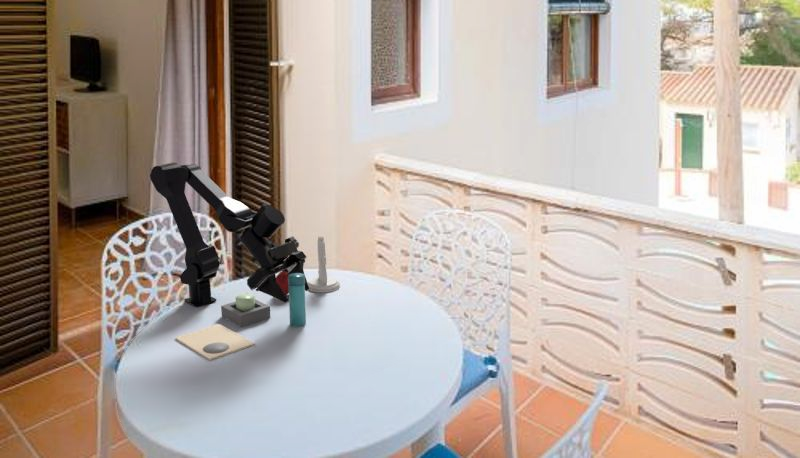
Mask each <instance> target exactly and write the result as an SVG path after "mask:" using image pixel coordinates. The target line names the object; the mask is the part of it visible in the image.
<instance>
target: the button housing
mask: <svg viewBox="0 0 800 458" xmlns="http://www.w3.org/2000/svg"><path fill="white" fill-rule="evenodd" d="M220 308H221V310H220V311H221V317H222V318H223V319H226V320H227V321H230V322H231V323H233V324H235V325H236V326H239V327H243V326H248V325H250V324H253V323H256V322H260V321H263V320H265V319H269V318H271V306H270V305H268V304H267V303H264V302H261V301H259V300H257V299H255V309H251V310H248V311H245V312H240V311H238V310H236V301H233V302H229V303H226V304H222V305H221V307H220Z"/></svg>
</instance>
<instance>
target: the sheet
mask: <svg viewBox="0 0 800 458" xmlns="http://www.w3.org/2000/svg"><path fill="white" fill-rule="evenodd" d="M174 338H175V339H174V340H176V341H178V342H179V343H181V344H183V345H184V346H186V347H187V348H189V349H191V350H192V351H194V352H196V353H197V354H199V355H200V356H202V357H204V358H205V359H207V360H208V361H213V360H215V359H218V358H220V357H224V356H226V355H230V354H232V353H236V352H238V351H241V350H243V349H247V348H249V347H252V346H255V345H256V343H255V342H253V341H252V340H250V339H248V338H246V337H244V336H242V335H240V334H239V333H237V332H235V331H234V330H232V329H229V328H228V327H226V326H224V325H222V324H221V323H217V324H214V325H211V326H207V327H205V328H202V329H198V330H195V331H191V332H189V333H185V334H182V335H179V336H175V337H174Z"/></svg>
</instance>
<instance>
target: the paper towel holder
mask: <svg viewBox="0 0 800 458" xmlns="http://www.w3.org/2000/svg"><path fill="white" fill-rule="evenodd" d="M325 243H326V242H325V240H324V236H323V235H319V236H318V237H317V258H318V259H317V260H318V271H317V272H318V276H314V277H312V278H310V279H309V280H308V281H307V283H308V286H309V290H308V291H310V292H315V293H330V292H334V291H337V290H339V289H340V287H341V284H340V281H339V280H338V278H336V277H333V276H329V275H328V273H327V255H326V254H327V253H326V244H325Z"/></svg>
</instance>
